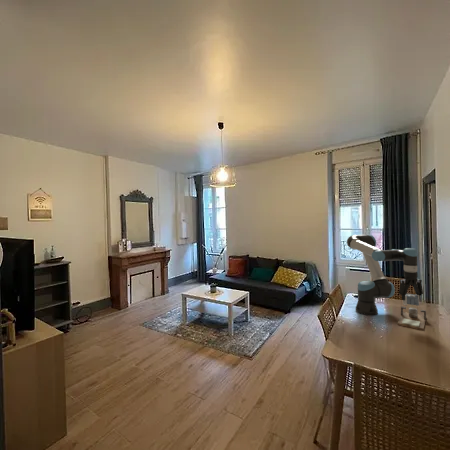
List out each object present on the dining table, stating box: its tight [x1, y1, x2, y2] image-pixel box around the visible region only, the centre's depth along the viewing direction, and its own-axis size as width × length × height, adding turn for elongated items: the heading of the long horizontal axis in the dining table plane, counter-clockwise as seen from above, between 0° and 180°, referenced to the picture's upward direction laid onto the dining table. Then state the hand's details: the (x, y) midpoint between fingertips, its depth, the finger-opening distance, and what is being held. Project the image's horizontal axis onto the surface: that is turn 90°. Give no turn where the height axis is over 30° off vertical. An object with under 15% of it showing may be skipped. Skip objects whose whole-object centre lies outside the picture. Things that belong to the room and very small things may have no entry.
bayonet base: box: [397, 306, 427, 331], centre depth 176 cm, size 14×26×7 cm, turn 138°
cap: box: [405, 293, 420, 306], centre depth 170 cm, size 11×8×6 cm
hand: (411, 304), depth 170 cm, fingers closed on cap, 8 cm apart
